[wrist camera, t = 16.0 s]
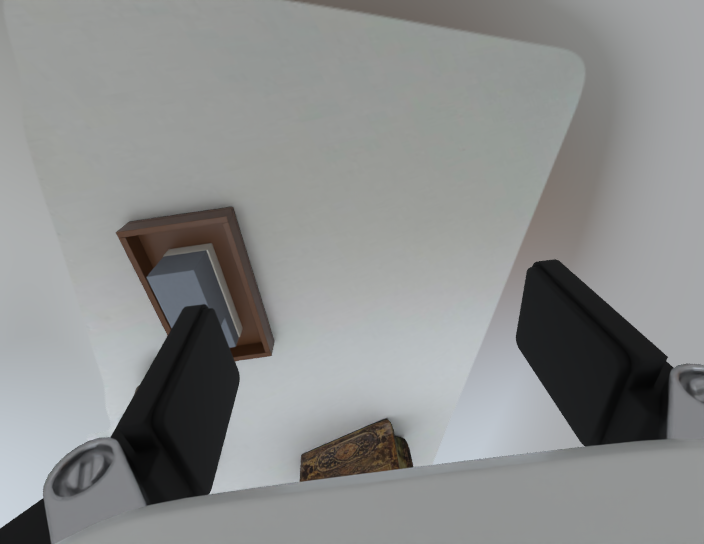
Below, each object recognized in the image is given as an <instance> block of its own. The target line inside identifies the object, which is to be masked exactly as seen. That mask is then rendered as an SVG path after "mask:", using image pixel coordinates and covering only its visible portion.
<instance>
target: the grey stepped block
mask: <svg viewBox="0 0 704 544" xmlns="http://www.w3.org/2000/svg"><path fill="white" fill-rule="evenodd" d="M147 279H148V281H149V284H150V286H151V288H152V290H153V292H154V294H155V296H156V298H157V300H158V302H159V304H160V306H161V308H162V310H163V312H164V314H165V316H166V318H167V320H168V322H169V324H170V326H171V328H172V327H173V326H174V324H175V322H176V320H177V318H178V317H179V315H180V313H181V311H182V309H183V308H184V307H186V306H193V305H201V304H205V305H207V306H208V308H213V309H214V310H215V312H216V315H217V317H218V320H219V322H220V325H221V327H222V330H223V332H224V335H225V338H226V340H227V343H228V345H229V348H231V347H236V345H237V342H238V338H239V337H240V335H241V332H242V325H241V322H240V320H239V317H238V314H237V311H236V308H235V306H234V303H233V300H232V297H231V295H230V292H229V289H228V286H227V284H226V281H225V278H224V275H223V273H222V270H221V267H220V264H219V261H218V259H217V256H216V253H215V250H214V248H213V245H212V243H209V244H202V245H195V246H188V247H181V248H174V249H169V250H168V251H167V252H166V253H165V254H164V256H163V258H162V259H161V260H160V261H159V263H158V264H157V265H156V266H155V267H154V268H153V270H152V271H151V272H150V273H149V274H148V276H147Z"/></svg>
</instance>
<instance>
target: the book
mask: <svg viewBox="0 0 704 544" xmlns="http://www.w3.org/2000/svg"><path fill="white" fill-rule="evenodd" d="M405 468H413V463H412V458H411V454H410V450H409V447H408V443H407V442H406V440H405V439H404V438H400V437H396V436H395V435H394V430H393V427H392V424H391V422H390V421H389V420H387V419H385V420H382V421H380V422H377V423H375V424H372V425H369V426H367V427H365V428H362V429H360V430H358V431H355V432H353V433H351V434H348V435H346V436H344V437H342V438H339V439H337V440H335V441H332V442H330V443H328V444H325V445H323V446H321V447H319V448H316V449H314V450H312V451H309V452H307V453H305V454H302V456H301V468H300V482H304V481H311V480H319V479H327V478H334V477H342V476H349V475H357V474H365V473H373V472H381V471H389V470H397V469H405Z"/></svg>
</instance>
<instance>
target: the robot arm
mask: <svg viewBox="0 0 704 544" xmlns="http://www.w3.org/2000/svg"><path fill="white" fill-rule="evenodd" d="M516 342H517V345H518V348H519V349H520V351H521V352H522V354H523V355H524V357H525V358H526V360H527V361H528V363H529V364H530V366H531V367H532V369H533V371H534V372H535V374H536V375H537V376H538V378H539V380H540V381H541V382H542V384H543V386H544V387H545V389H546V390H547V392H548V393H549V395H550V396H551V398H552V399H553V401H554V402H555V404H556V405H557V407H558V408H559V410H560V411H561V413H562V415H563V416H564V418H565V419H566V420H567V422H568V424H569V425H570V427H571V428H572V430H573V431H574V433H575V434H576V436H577V437H578V439H579V440H580V442H581V443H582V444H583V445H584V446H586V447H577V448H569V449H560V450H552V451H544V452H535V453H527V454H519V455H510V456H502V457H493V458H485V459H477V460H469V461H461V462H453V463H445V464H437V465H429V466H421V467H413V468H405V469H397V470H389V471H381V472H373V473H365V474H357V475H349V476H342V477H334V478H327V479H319V480H311V481H304V482H296V483H289V484H281V485H273V486H266V487H258V488H250V489H244V490H237V491H230V492H223V493H217V494H210V495H208V494H209V493H210V491H211V489H212V485H213V481H214V478H215V474H216V470H217V466H218V462H219V459H220V455H221V451H222V447H223V443H224V439H225V436H226V432H227V428H228V424H229V420H230V417H231V413H232V409H233V405H234V401H235V397H236V394H237V390H238V386H239V380H240V377H239V371H238V368H237V366H236V363H235V361H234V358H233V356H232V353H231V350H230V348H229V345H228V343H227V340H226V338H225V335H224V332H223V330H222V327H221V325H220V322H219V320H218V317H217V315H216V312H215V310H214V309H213V308H208V306H207V305H205V304H201V305H193V306H186V307H184V308H183V309H182V311H181V313H180V315H179V317H178V318H177V320H176V322H175V324H174V326H173V327H172V329H171V331H170V333H169V334H168V336H167V338H166V340H165V342H164V343H163V345H162V347H161V349H160V351H159V352H158V354H157V356H156V358H155V359H154V361H153V363H152V364H151V366H150V368H149V370H148V372H147V373H146V375H145V377H144V379H143V381H142V382H141V384H140V386H139V388H138V389H137V391H136V393H135V395H134V397H133V398H132V400H131V402H130V404H129V405H128V407H127V409H126V411H125V413H124V414H123V416H122V418H121V420H120V422H119V423H118V425H117V427H116V429H115V430H114V432H113V434H112V436H111V438H109V437H107V438H97V439H94V440H91V441H88V442H86V443H84V444H82V445H80V446H78V447H77V448H75V449H74V450H72V451H71V452H70V453H68V454H67V455H66V456H65V457H64V458H63V459H62V460H60V461H59V463H57V464H56V466H55V467H54V468H53V470H52V471H51V472H50V474H49V475H48V477H47V479H46V482H45V484H44V489H43V499H41V500H40V501H39V502H37V503H36V504H34V505H33V506H31V507H30V508H29V509H27V510H26V511H24V512H23V513H22V514H20V515H19V516H18V517H16V518H15V519H13V520H12V521H10V522H9V523H8V524H6V525H5V526H3V527H2V528H0V544H704V365H700V364H683V365H678V366H676V367H675V368H673V367H672V366H671V365H670V364H669V363H667V362H666V360H667V358H668V357H667V356H666V355H665V354H664V353H663V352H662V351H661V350H659V349H658V348H657V347H656V346H655V345H654V344H653V343H652V342H650V341H649V340H648V339H647V338H646V337H645V336H643V335H642V334H641V333H640V332H639V331H638V330H637V329H636V328H635V327H633V326H632V325H631V324H630V323H629V322H628V321H627V320H625V319H624V318H623V317H622V316H621V315H620V314H619V313H617V312H616V311H615V310H614V309H613V308H612V307H611V306H610V305H609V304H607V303H606V302H605V301H604V300H603V299H602V298H601V297H599V296H598V295H597V294H596V293H595V292H594V291H593V290H592V289H590V288H589V287H588V286H587V285H586V284H585V283H584V282H582V281H581V280H580V279H579V278H578V277H577V276H576V275H575V274H573V273H572V272H571V271H570V270H569V269H568V268H567V267H565V266H564V265H563V264H562V263H561V262H560V261H558V260H546V261H539V262H535V263H534V264H533V266H532V267H530V268H529V269H528V270H527V275H526V280H525V286H524V292H523V298H522V303H521V309H520V316H519V321H518V327H517V333H516Z"/></svg>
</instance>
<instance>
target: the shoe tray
mask: <svg viewBox="0 0 704 544" xmlns="http://www.w3.org/2000/svg"><path fill="white" fill-rule="evenodd" d="M116 234H117V236H118V238H119V240H120V242H121V244H122V246H123V248H124V250H125V252H126V254H127V256H128V257H129V259H130V261H131V263H132V265H133V267H134V269H135V271H136V273H137V275H138V277H139V279H140V281H141V283H142V285H143V287H144V289H145V291H146V293H147V295H148V297H149V299H150V301H151V303H152V305H153V307H154V309H155V311H156V313H157V315H158V317H159V319H160V321H161V323H162V325H163V327H164V329H165V331H166V333H167V335H168V334H169V333H170V331H171V329H172V328H171V326H170V324H169V322H168V320H167V318H166V316H165V314H164V312H163V310H162V308H161V306H160V304H159V302H158V300H157V298H156V296H155V294H154V292H153V290H152V288H151V286H150V284H149V281H148V279H147V276H148V274H149V273H150V272H151V271H152V270H153V268H154V267H155V266H156V265H157V264H158V263H159V261H160V260H161V259H162V258H163V256H164V254H165V253H166V252H167V251H168V250H169V249H174V248H181V247H188V246H195V245H202V244H209V243H212V245H213V248H214V250H215V253H216V256H217V259H218V261H219V264H220V267H221V270H222V273H223V275H224V278H225V281H226V284H227V286H228V289H229V292H230V295H231V297H232V300H233V303H234V306H235V308H236V311H237V314H238V317H239V320H240V322H241V325H242V332H241V335H240V337H239V338H238V342H237V345H236V347H231V348H230V350H231V353H232V356H233V358H234V361H239V360H246V359H253V358H260V357H267V356H272V351H273V346H274V338H273V335H272V332H271V329H270V325H269V322H268V319H267V316H266V313H265V309H264V306H263V303H262V300H261V296H260V293H259V290H258V287H257V284H256V280H255V277H254V274H253V271H252V267H251V264H250V261H249V258H248V255H247V251H246V248H245V245H244V242H243V239H242V235H241V232H240V229H239V226H238V222H237V219H236V216H235V213H234V210H233V207H227V208H220V209H213V210H206V211H200V212H193V213H186V214H179V215H172V216H165V217H158V218H152V219H145V220H138V221H131V222H128V223H127V224H126V225H125V226H123V227H122V228H121V229H120V230H118V231H117V232H116Z"/></svg>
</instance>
